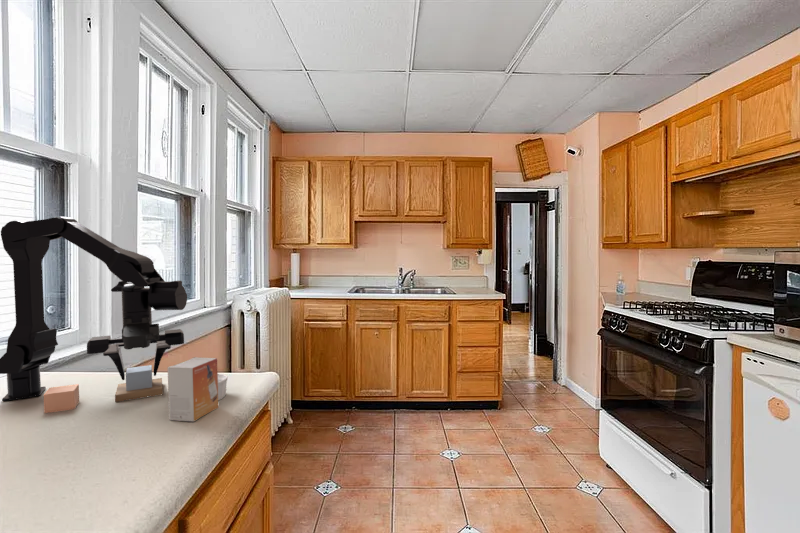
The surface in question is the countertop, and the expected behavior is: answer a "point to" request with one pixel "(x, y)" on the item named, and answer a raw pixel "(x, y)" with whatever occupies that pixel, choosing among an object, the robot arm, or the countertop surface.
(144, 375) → the slate brick
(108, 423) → the countertop surface
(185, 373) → the small box
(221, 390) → the ramekin
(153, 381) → the base plate
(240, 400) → the countertop surface
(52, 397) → the terracotta brick
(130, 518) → the countertop surface
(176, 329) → the robot arm
